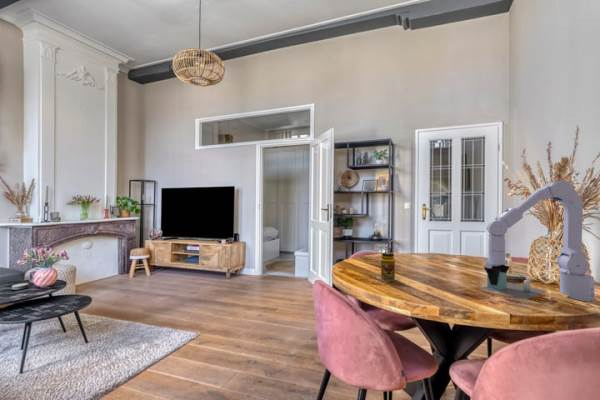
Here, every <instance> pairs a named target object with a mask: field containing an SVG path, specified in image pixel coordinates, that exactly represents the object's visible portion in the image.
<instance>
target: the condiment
mask: <svg viewBox="0 0 600 400" xmlns="http://www.w3.org/2000/svg"><path fill="white" fill-rule="evenodd" d="M394 255H395V254H394V253H393V252H382V253H381V260H380V261H381V264H380V265H381V267H380V268H381V269H380V276H377V277H376V276H374V277H375V278H376V279H379V280H381V281H385V282H393V281H398V280H400V279H399V278H396V275H395V273H396V272H395V268H396V267H395V265H396V264H395V259H394V258H395V256H394Z"/></svg>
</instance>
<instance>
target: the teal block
mask: <svg viewBox="0 0 600 400" xmlns="http://www.w3.org/2000/svg"><path fill="white" fill-rule="evenodd" d="M507 273H508V272H507ZM507 273H503V272H500V273H499V276H498V283H497V285H496V286H495V285H491V284H490V281H489V277H488V274H487V273H486V274H487V275H486V277H487V279H486V281H487V282H486V283H487V284H486V285H487V286H486V287H490V288H495V289H499V290H502V289H505V288H507V282H508V281H507V280H508V277H507V276H508V275H507Z"/></svg>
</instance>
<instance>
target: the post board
mask: <svg viewBox="0 0 600 400" xmlns="http://www.w3.org/2000/svg"><path fill="white" fill-rule="evenodd" d="M480 289H482V290H486V291H490V292H494V293H495V292H496V293H500V294H504V295H508V296H513V297H518V298H522V299H526V300H528V299H531V298H533V297H535V296H538V295H541V294H543V293H545V292H546V290H544V289H540V288H539V289H538V288H533V287H531V280H526V279H524V280H523V285H518V284H513V283H509V282H508V283H507V288H505V289H502V290H499V289H495V288H490V287H487V286H483V287H480Z"/></svg>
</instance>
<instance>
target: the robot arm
mask: <svg viewBox="0 0 600 400" xmlns="http://www.w3.org/2000/svg"><path fill="white" fill-rule="evenodd" d="M575 188H576V187H575V185H574V184H572V183H570V182H568V181H566V180H563V179H562V180H561V179H560V180H555V181H549V182H546V183H545V184H543V186H542V185H541V187H538V188H537V189H536V190H535V191H533V193H531V194H530V195H528V197H526V198H525V199H524V200H523V201H522V202H521V203H520V204H518V205H517V206H516V207H509V208H505V209H504V210H503V211H504V212H503V213H502V214H500V215H499V216H496V217H494V220H492V221H490V222H489V223H488V224H487V227H486V230H487V232H488V247H487V249H488V259H486V260H485V263H484V264H485V265H484V267H483V269H484V270H485V272H486V274H488V277H489V281H490V284H491V285H495V286H496V285H497V283H498V276H499V273H500V272H503V273H508V271H509V269H510V265H508V264H509V263H508V259H506V239H505V237H506V234H507V232H508V229H510V228H512V227H513V226H514V225H515V224H517V223H519V221H521V220H522V219H523V217H524V215H523V214H524V213H525V212H527V211H528V210H530V209H531V208H532V207H534V206H535V205H537V204H538V203H539V202H541V201H542V200H549V199H552V200H555V201H556V202H558V203H559V204H561V205H562V206H563V233H562V234H563V237H562V238H563V241H562V247H561V249H560V254H559V255H558V257H557V259H556V263H557V265H558V267H559V268H560V270H559V294H562V295H565V296H566V298H568V299H573V300H578V301H581V302H582V301H583V302H586V303H589V302H591V301H593V300H595V299H596V296H595V293H596V292H595V278H594V276H592V275H587V274H586V272H587V271H588V270H589V267H590V266H589V263H588V261H587V259H586V255H587V254H586V253H585V252H584V250H583V247H582V246H583V244H582V243H583V210H584V207H583V203H584V202H583V199H582V197H581V196H580V195H579V193H578V192H577V190H576V189H575Z"/></svg>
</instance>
